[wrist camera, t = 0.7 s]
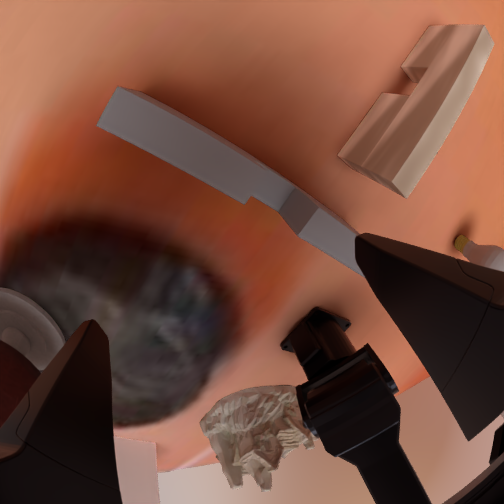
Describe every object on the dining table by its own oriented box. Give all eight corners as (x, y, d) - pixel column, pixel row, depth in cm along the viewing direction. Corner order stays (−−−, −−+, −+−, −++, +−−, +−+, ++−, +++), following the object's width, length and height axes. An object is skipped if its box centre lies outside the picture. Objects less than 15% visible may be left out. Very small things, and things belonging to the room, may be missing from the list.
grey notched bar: (346, 222, 24) (392, 263, 19) (333, 239, 25) (375, 284, 19) (140, 91, 15) (117, 86, 9) (125, 116, 16) (96, 125, 10)
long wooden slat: (439, 40, 16) (494, 43, 11) (352, 168, 22) (406, 198, 16) (428, 25, 15) (484, 24, 10) (337, 155, 21) (391, 181, 15)
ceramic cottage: (186, 427, 37) (208, 510, 25) (245, 372, 33) (288, 477, 21) (258, 431, 46) (286, 496, 33) (319, 383, 41) (361, 457, 29)
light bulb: (440, 241, 29) (495, 286, 21) (464, 213, 28) (520, 252, 20) (447, 264, 32) (494, 306, 24) (469, 238, 31) (517, 275, 23)
